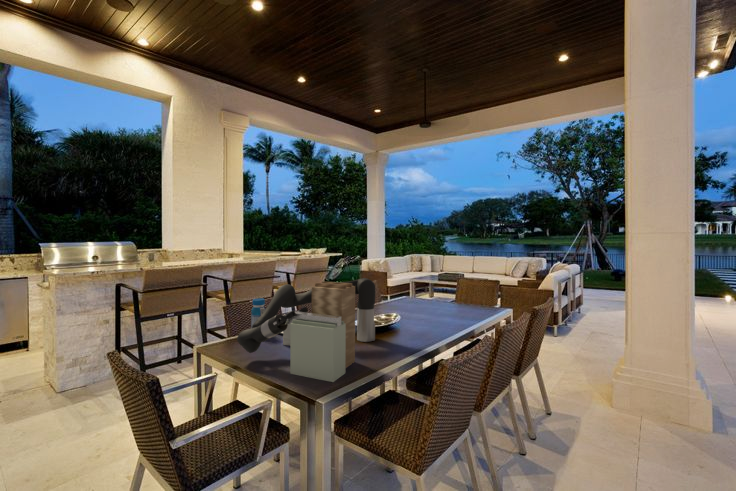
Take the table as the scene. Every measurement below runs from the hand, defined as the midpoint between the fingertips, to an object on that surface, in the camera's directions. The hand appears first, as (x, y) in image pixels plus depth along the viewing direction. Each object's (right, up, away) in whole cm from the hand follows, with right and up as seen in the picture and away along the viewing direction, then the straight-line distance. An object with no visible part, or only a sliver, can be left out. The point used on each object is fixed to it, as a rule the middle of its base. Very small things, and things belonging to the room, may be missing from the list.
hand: (301, 310), depth 148 cm
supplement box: (-12, -24, +38) cm, 46 cm away
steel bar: (+6, -5, -2) cm, 8 cm away
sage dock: (+7, -25, -3) cm, 26 cm away
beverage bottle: (-35, -24, +55) cm, 69 cm away
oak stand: (+13, -25, +9) cm, 29 cm away
